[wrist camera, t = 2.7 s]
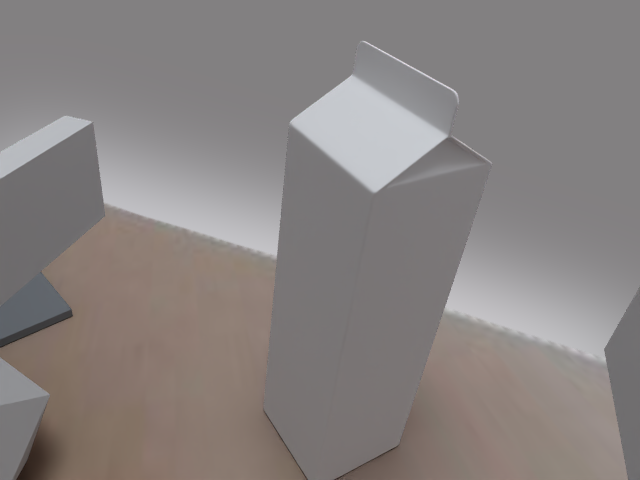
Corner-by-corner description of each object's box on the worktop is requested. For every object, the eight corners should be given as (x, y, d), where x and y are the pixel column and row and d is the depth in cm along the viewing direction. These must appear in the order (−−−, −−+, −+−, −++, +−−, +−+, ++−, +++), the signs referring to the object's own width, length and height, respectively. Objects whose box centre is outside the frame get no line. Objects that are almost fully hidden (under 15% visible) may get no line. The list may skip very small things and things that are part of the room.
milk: (342, 375, 37) (416, 33, 24) (400, 447, 33) (523, 84, 20) (260, 410, 34) (294, 41, 21) (312, 494, 30) (393, 103, 17)
